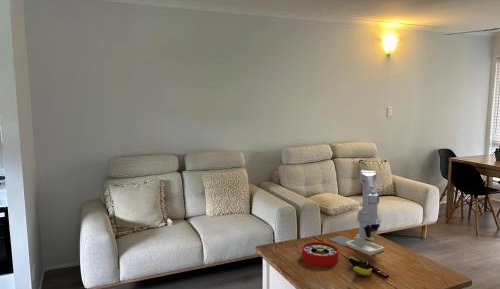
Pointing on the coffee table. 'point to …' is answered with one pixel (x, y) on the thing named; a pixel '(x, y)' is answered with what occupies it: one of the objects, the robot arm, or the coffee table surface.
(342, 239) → the mat
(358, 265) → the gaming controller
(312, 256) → the toy clock
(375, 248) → the tray
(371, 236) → the birch block
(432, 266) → the coffee table surface
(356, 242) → the blue-grey block
